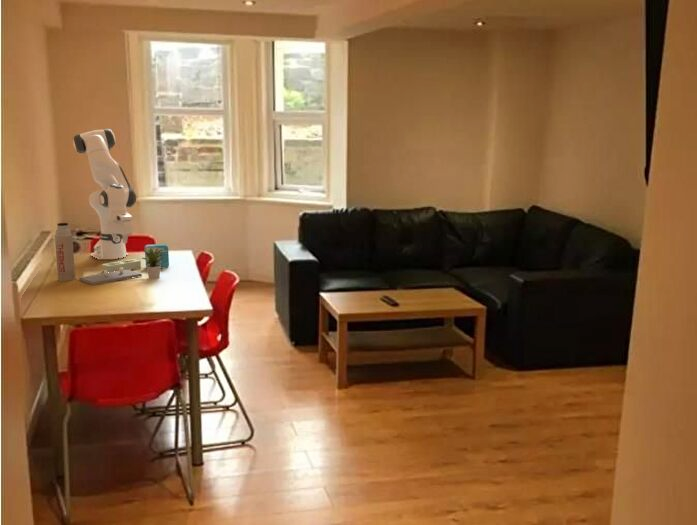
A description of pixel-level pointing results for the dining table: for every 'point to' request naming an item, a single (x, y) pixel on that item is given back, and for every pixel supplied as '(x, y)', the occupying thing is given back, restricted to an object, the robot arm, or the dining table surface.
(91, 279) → the boss board
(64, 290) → the dining table surface
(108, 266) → the cream rectangular bar
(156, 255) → the house plant
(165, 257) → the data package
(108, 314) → the dining table surface
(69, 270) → the thermos bottle
